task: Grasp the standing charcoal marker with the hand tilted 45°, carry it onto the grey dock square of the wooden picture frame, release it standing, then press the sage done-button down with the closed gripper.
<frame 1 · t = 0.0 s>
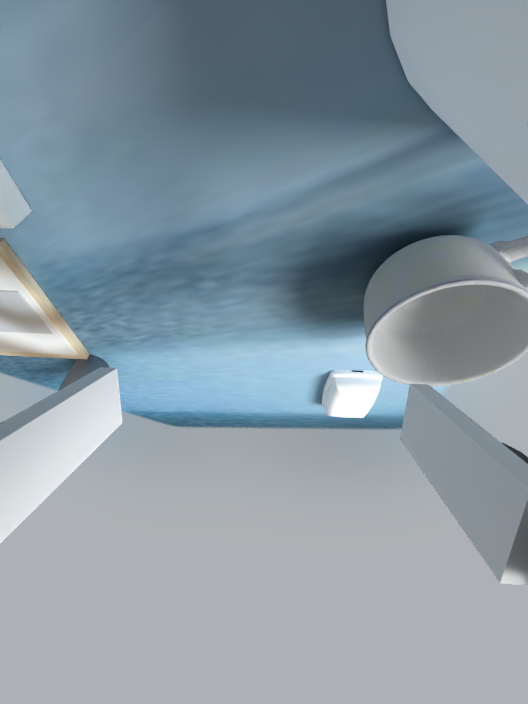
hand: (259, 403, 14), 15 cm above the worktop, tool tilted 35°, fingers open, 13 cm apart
teacup: (438, 263, 25), on the worktop
wooden picture frame: (4, 305, 32), on the worktop
soap: (349, 385, 41), on the worktop
marker: (92, 363, 40), on the worktop
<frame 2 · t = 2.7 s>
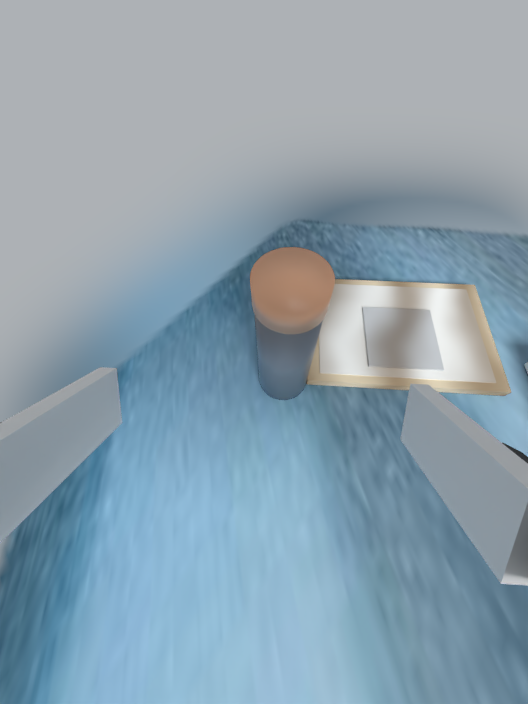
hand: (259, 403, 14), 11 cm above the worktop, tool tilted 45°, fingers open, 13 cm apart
wooden picture frame: (394, 333, 28), on the worktop
marker: (282, 377, 26), on the worktop
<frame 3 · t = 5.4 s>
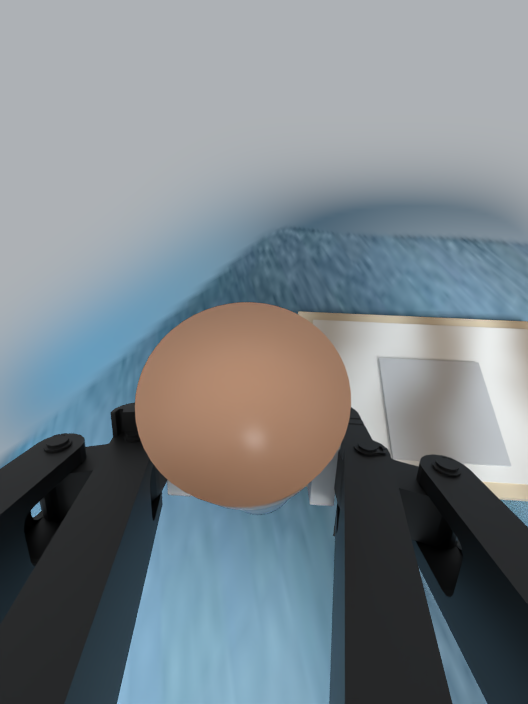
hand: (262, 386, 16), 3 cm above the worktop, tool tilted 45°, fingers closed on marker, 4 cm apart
wooden picture frame: (426, 397, 19), on the worktop
marker: (258, 473, 17), on the worktop, touching gripper
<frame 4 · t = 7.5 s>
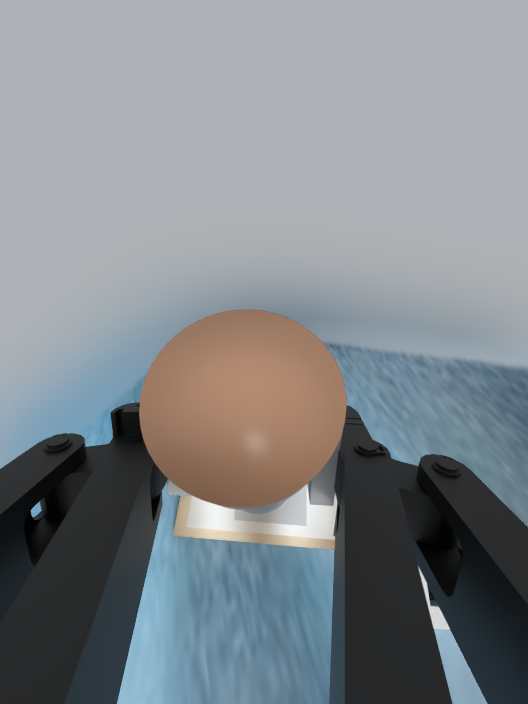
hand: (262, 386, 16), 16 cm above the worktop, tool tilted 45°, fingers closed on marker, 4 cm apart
button housing: (438, 565, 25), on the worktop
wooden picture frame: (272, 473, 28), on the worktop
marker: (258, 473, 17), point 12 cm above the worktop, touching gripper
when the fingers open (6 cm above the worktop, at t = 9.8 s): marker drops 1 cm, resting on wooden picture frame.
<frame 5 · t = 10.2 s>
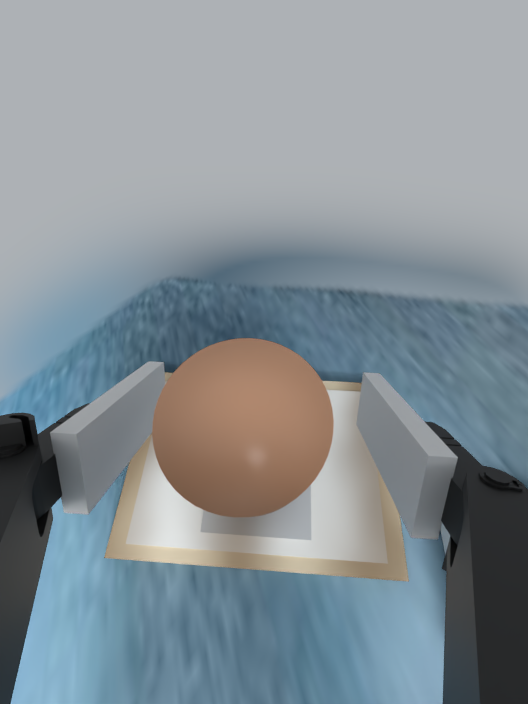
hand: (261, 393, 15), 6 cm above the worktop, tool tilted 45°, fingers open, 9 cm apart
wooden picture frame: (260, 462, 19), on the worktop
marker: (259, 476, 18), point 1 cm above the worktop, touching wooden picture frame
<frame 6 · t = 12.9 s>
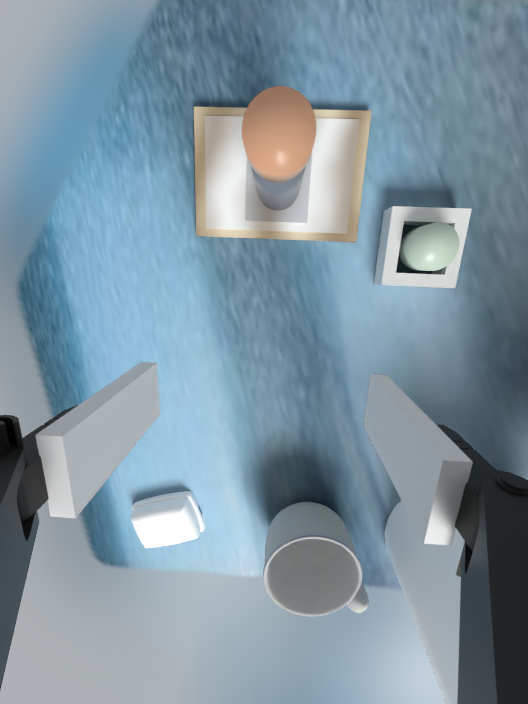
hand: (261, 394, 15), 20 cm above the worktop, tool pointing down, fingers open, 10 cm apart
button housing: (413, 249, 31), on the worktop
teacup: (313, 527, 41), on the worktop
wooden picture frame: (278, 179, 30), on the worktop
done button: (427, 248, 28), point 3 cm above the worktop, slide at 0.0 cm
cylinder: (450, 531, 40), on the worktop
soap: (170, 512, 42), on the worktop
marker: (278, 187, 29), point 1 cm above the worktop, touching wooden picture frame
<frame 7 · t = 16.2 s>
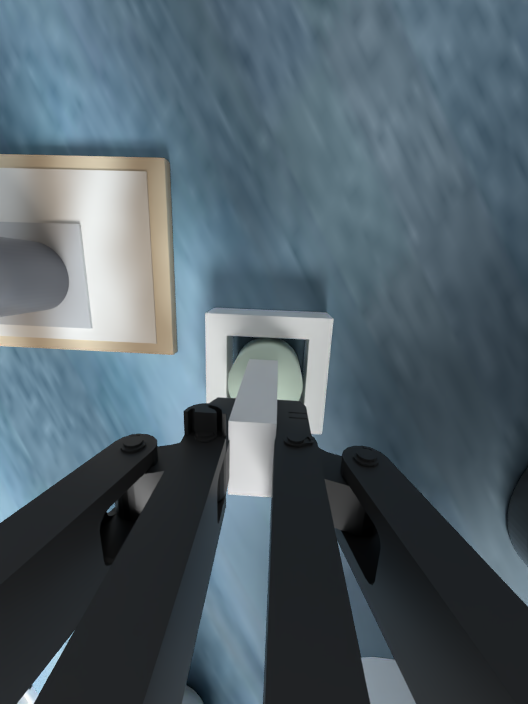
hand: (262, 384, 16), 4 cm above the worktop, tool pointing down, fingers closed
button housing: (268, 363, 20), on the worktop
wooden picture frame: (47, 259, 19), on the worktop
done button: (266, 375, 18), point 2 cm above the worktop, slide at 0.7 cm, touching gripper
marker: (35, 276, 18), point 1 cm above the worktop, touching wooden picture frame
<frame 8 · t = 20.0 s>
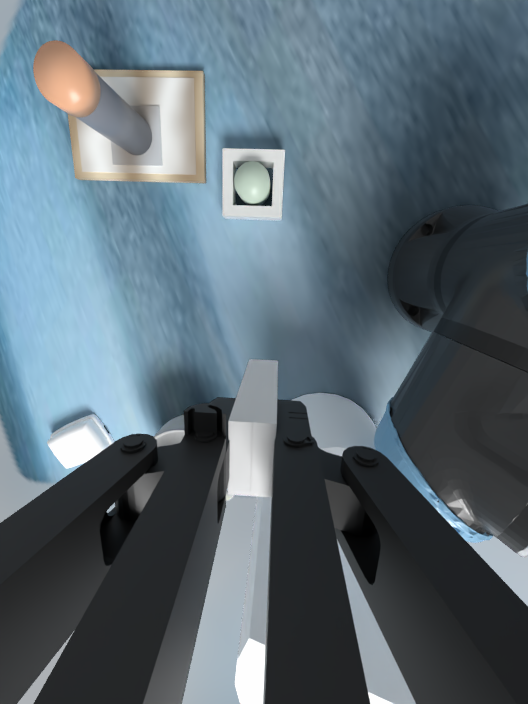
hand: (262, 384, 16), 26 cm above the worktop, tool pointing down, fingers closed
button housing: (254, 189, 37), on the worktop
teacup: (203, 442, 48), on the worktop
wooden picture frame: (138, 130, 36), on the worktop
done button: (253, 184, 35), point 2 cm above the worktop, slide at 1.0 cm
cylinder: (319, 444, 47), on the worktop
soap: (86, 437, 49), on the worktop
marker: (135, 135, 35), point 1 cm above the worktop, touching wooden picture frame
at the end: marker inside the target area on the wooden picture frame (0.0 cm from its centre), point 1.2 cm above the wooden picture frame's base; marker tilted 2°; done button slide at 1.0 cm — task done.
